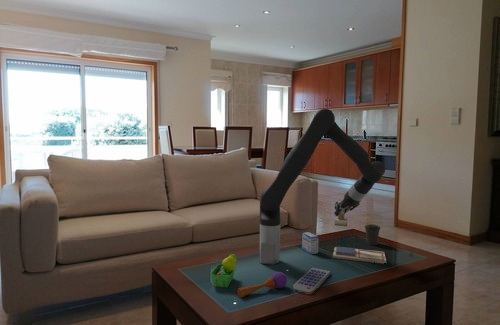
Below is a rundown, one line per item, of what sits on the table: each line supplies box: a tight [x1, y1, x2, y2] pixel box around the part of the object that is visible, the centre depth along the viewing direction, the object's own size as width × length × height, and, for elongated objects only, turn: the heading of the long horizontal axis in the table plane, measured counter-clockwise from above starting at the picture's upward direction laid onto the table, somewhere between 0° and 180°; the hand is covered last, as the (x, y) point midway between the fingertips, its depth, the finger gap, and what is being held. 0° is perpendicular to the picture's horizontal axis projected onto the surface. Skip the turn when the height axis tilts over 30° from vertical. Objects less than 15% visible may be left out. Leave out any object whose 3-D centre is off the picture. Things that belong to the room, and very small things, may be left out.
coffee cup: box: [364, 223, 381, 246], centre depth 188 cm, size 8×8×10 cm
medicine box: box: [301, 231, 319, 255], centre depth 175 cm, size 8×4×9 cm, turn 25°
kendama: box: [236, 271, 288, 299], centre depth 131 cm, size 6×6×20 cm
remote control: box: [292, 267, 331, 293], centre depth 139 cm, size 8×23×2 cm, turn 150°
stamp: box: [334, 208, 348, 227], centre depth 175 cm, size 6×6×8 cm
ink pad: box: [335, 246, 356, 256], centre depth 171 cm, size 9×9×1 cm
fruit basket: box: [210, 253, 238, 288], centre depth 137 cm, size 11×9×11 cm
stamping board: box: [332, 246, 387, 264], centre depth 170 cm, size 14×24×1 cm, turn 73°
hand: (338, 214), depth 177 cm, fingers closed on stamp, 3 cm apart
